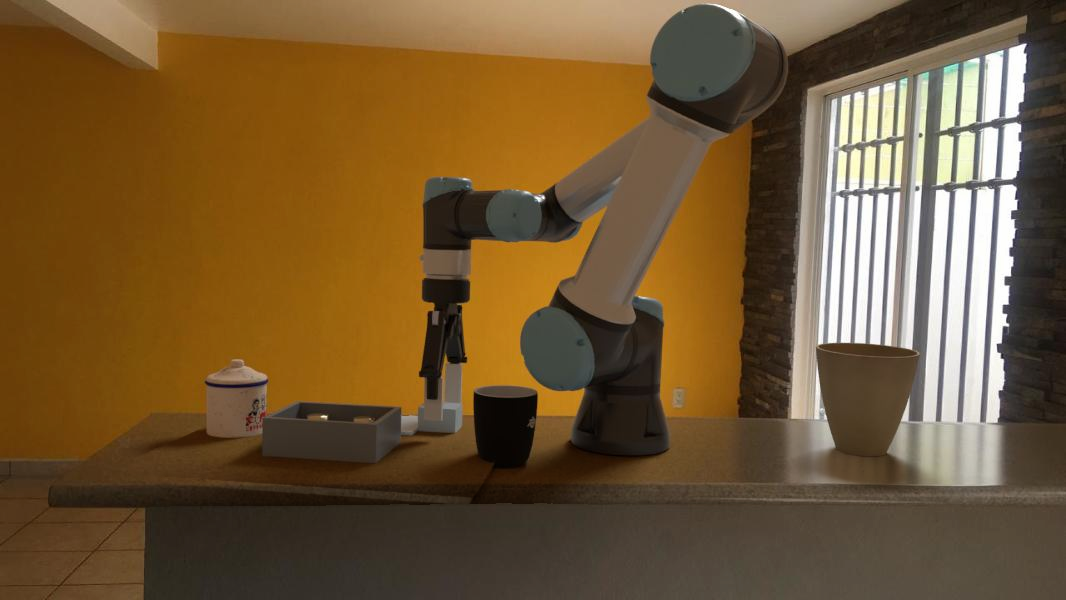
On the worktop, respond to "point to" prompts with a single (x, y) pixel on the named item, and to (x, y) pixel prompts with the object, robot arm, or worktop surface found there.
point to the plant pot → (865, 393)
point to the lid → (447, 425)
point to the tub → (331, 432)
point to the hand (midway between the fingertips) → (443, 411)
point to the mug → (505, 423)
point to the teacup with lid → (236, 401)
